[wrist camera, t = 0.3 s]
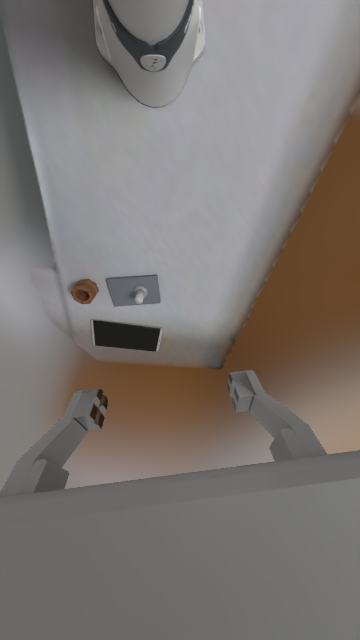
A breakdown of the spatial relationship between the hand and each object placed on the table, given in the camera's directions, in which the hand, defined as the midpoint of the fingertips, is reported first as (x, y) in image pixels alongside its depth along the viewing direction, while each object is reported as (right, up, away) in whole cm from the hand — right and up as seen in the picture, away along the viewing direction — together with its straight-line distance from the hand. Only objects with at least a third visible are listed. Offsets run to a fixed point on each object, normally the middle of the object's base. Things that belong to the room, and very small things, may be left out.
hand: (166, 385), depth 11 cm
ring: (-29, +15, +45) cm, 55 cm away
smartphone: (-21, -2, +59) cm, 62 cm away
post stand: (-14, +14, +47) cm, 51 cm away
